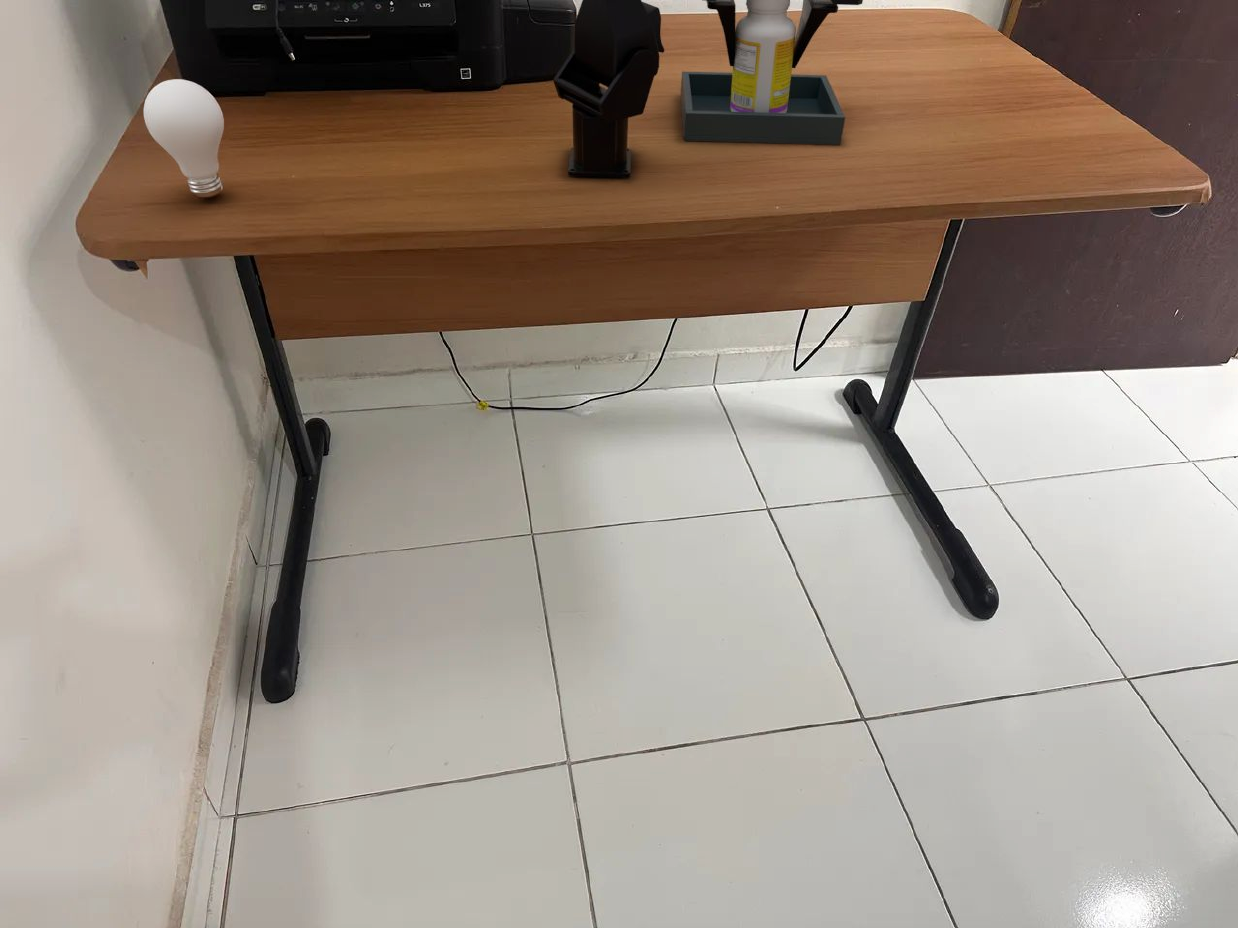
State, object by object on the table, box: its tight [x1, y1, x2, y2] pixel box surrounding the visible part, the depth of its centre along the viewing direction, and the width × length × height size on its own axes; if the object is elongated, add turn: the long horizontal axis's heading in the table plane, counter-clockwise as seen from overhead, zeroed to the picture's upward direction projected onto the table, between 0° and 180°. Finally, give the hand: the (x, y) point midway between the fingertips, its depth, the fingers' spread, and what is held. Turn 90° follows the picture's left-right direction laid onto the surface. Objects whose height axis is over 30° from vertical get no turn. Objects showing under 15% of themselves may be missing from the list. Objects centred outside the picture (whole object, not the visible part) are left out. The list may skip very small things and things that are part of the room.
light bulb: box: [143, 78, 225, 199], centre depth 81 cm, size 7×7×11 cm
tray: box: [679, 70, 846, 146], centre depth 101 cm, size 14×18×3 cm
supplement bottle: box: [730, 0, 797, 113], centre depth 98 cm, size 7×7×13 cm
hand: (762, 66), depth 98 cm, fingers closed on supplement bottle, 7 cm apart
